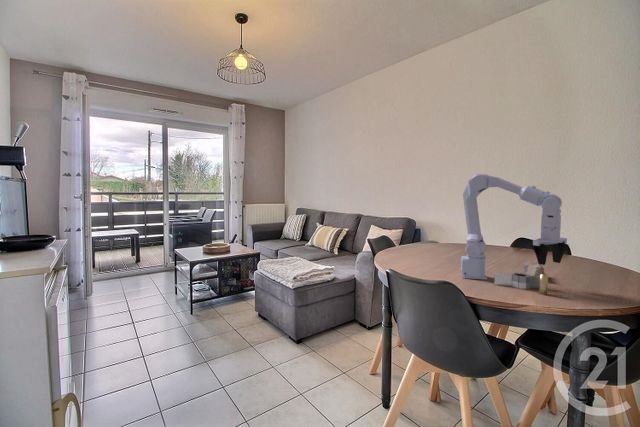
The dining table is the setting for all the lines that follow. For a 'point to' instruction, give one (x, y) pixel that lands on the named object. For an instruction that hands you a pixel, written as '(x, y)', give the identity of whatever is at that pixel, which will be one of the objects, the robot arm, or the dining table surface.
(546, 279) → the hinge pin
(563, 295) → the dining table surface
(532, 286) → the hinge
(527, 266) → the mineral specimen
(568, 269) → the dining table surface
